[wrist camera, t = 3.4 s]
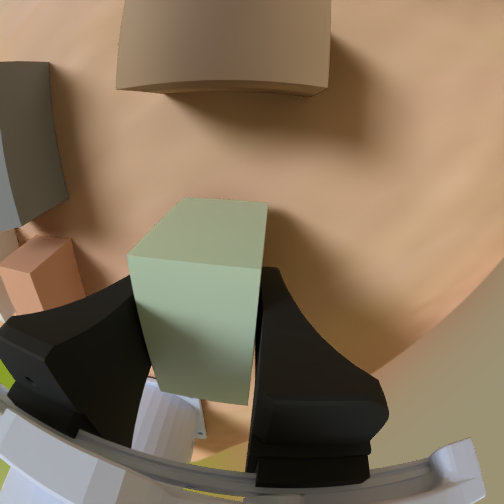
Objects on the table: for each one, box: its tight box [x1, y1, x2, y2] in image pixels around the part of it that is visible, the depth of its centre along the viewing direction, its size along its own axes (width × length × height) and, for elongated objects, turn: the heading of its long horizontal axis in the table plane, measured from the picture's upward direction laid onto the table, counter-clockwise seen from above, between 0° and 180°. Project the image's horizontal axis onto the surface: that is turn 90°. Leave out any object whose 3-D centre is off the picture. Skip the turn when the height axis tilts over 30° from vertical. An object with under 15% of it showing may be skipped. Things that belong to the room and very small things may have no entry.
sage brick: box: [127, 197, 268, 406], centre depth 10 cm, size 6×3×5 cm, turn 177°
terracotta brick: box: [0, 235, 87, 315], centre depth 13 cm, size 6×3×4 cm, turn 177°
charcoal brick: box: [0, 61, 69, 232], centre depth 9 cm, size 8×5×4 cm, turn 6°
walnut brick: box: [116, 0, 331, 97], centre depth 7 cm, size 6×3×4 cm, turn 87°
